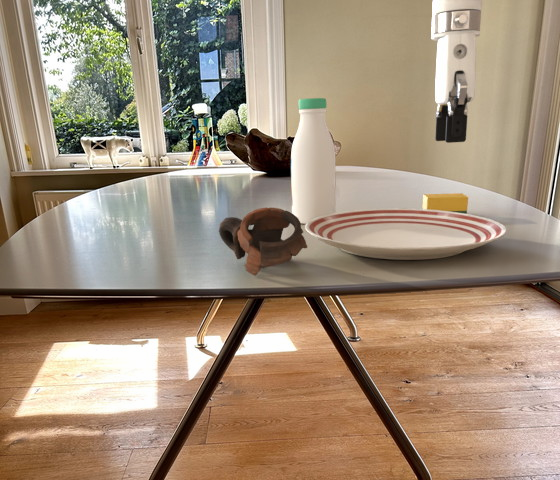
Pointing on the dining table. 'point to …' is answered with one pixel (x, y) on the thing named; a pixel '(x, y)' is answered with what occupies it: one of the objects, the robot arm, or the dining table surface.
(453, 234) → the dinner plate
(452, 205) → the sponge
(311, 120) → the milk bottle
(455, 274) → the dining table surface
